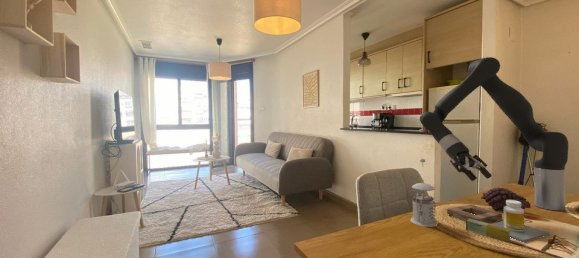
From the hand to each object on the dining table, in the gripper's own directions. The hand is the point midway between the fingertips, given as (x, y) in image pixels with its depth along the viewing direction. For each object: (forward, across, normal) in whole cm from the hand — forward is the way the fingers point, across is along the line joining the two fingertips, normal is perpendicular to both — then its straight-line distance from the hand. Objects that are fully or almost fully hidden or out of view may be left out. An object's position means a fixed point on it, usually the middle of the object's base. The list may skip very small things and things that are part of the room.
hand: (482, 178), depth 96 cm
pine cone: (+9, +18, +14) cm, 25 cm away
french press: (+6, -22, +18) cm, 29 cm away
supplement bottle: (+18, 0, +4) cm, 19 cm away
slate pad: (+19, 0, +4) cm, 20 cm away
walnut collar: (+9, 0, +14) cm, 17 cm away
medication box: (+18, -11, +6) cm, 22 cm away
